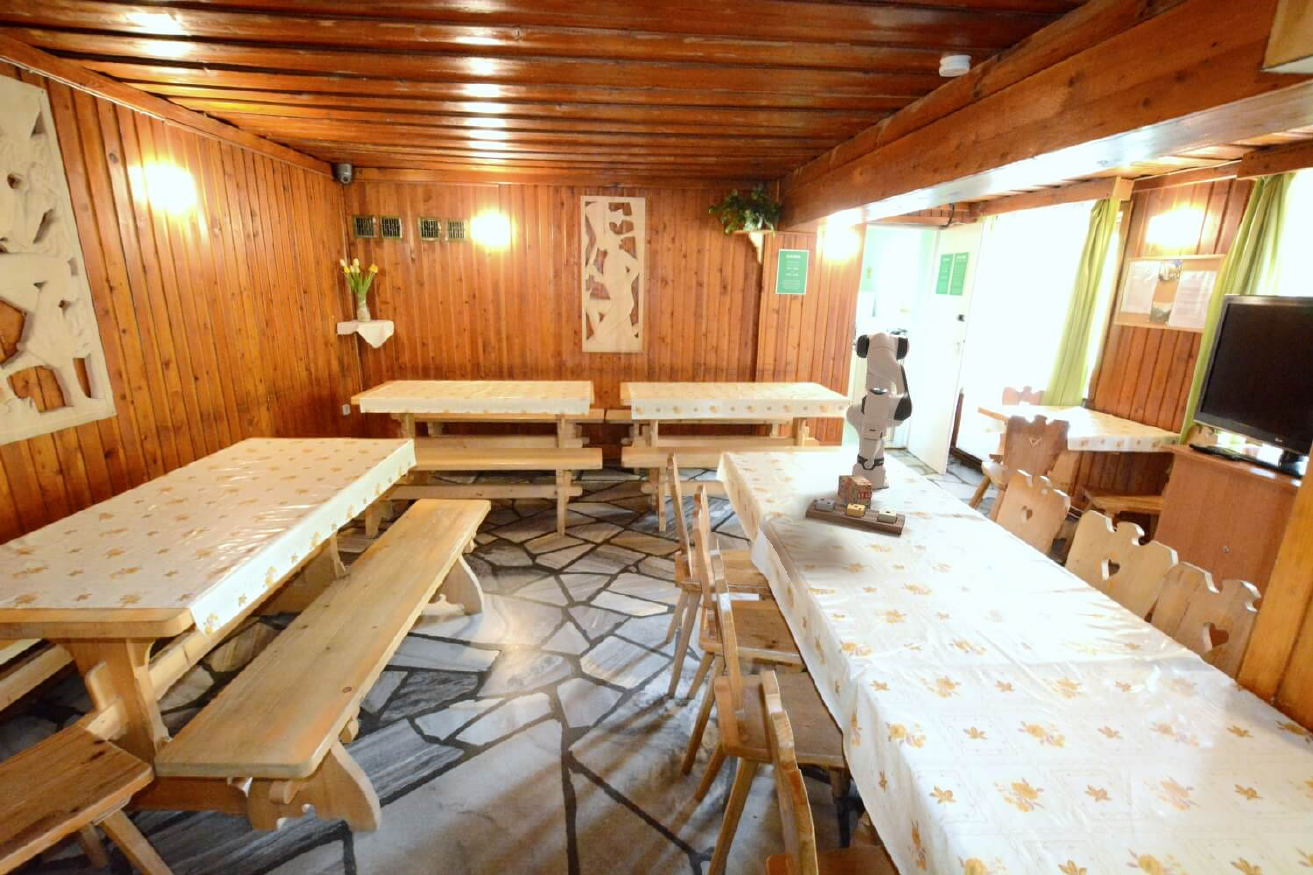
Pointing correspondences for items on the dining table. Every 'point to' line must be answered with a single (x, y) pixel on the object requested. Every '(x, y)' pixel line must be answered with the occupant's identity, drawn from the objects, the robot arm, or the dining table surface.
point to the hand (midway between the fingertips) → (870, 465)
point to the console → (856, 518)
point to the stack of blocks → (855, 490)
